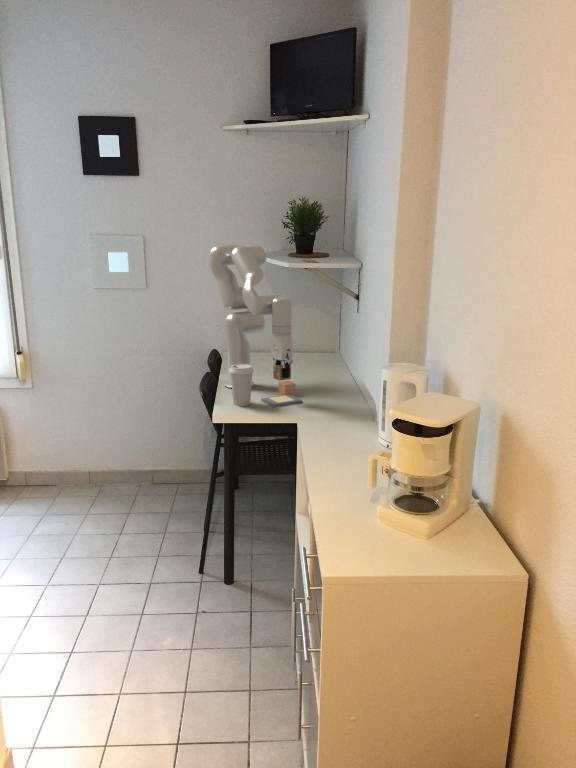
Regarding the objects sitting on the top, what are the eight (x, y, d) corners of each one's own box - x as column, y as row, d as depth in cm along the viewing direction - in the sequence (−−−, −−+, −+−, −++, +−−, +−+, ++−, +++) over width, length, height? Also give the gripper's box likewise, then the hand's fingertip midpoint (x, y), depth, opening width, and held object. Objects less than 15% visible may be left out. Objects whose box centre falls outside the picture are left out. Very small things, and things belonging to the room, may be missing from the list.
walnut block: (273, 377, 256) (273, 365, 254) (284, 376, 258) (284, 364, 257) (279, 380, 251) (279, 367, 250) (290, 379, 254) (290, 366, 253)
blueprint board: (261, 400, 259) (261, 398, 258) (289, 396, 265) (289, 393, 265) (273, 407, 250) (273, 404, 250) (302, 402, 256) (302, 399, 256)
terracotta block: (278, 394, 268) (278, 382, 267) (289, 392, 271) (289, 380, 270) (284, 397, 264) (284, 385, 263) (295, 395, 267) (295, 383, 265)
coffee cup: (229, 400, 259) (229, 363, 255) (253, 400, 260) (253, 363, 256) (229, 407, 250) (228, 369, 246) (254, 407, 250) (253, 369, 246)
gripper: (262, 327, 255) (263, 373, 260) (284, 334, 241) (284, 381, 246) (279, 326, 259) (279, 370, 264) (301, 332, 245) (301, 379, 249)
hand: (282, 375), depth 255 cm, fingers closed on walnut block, 5 cm apart
